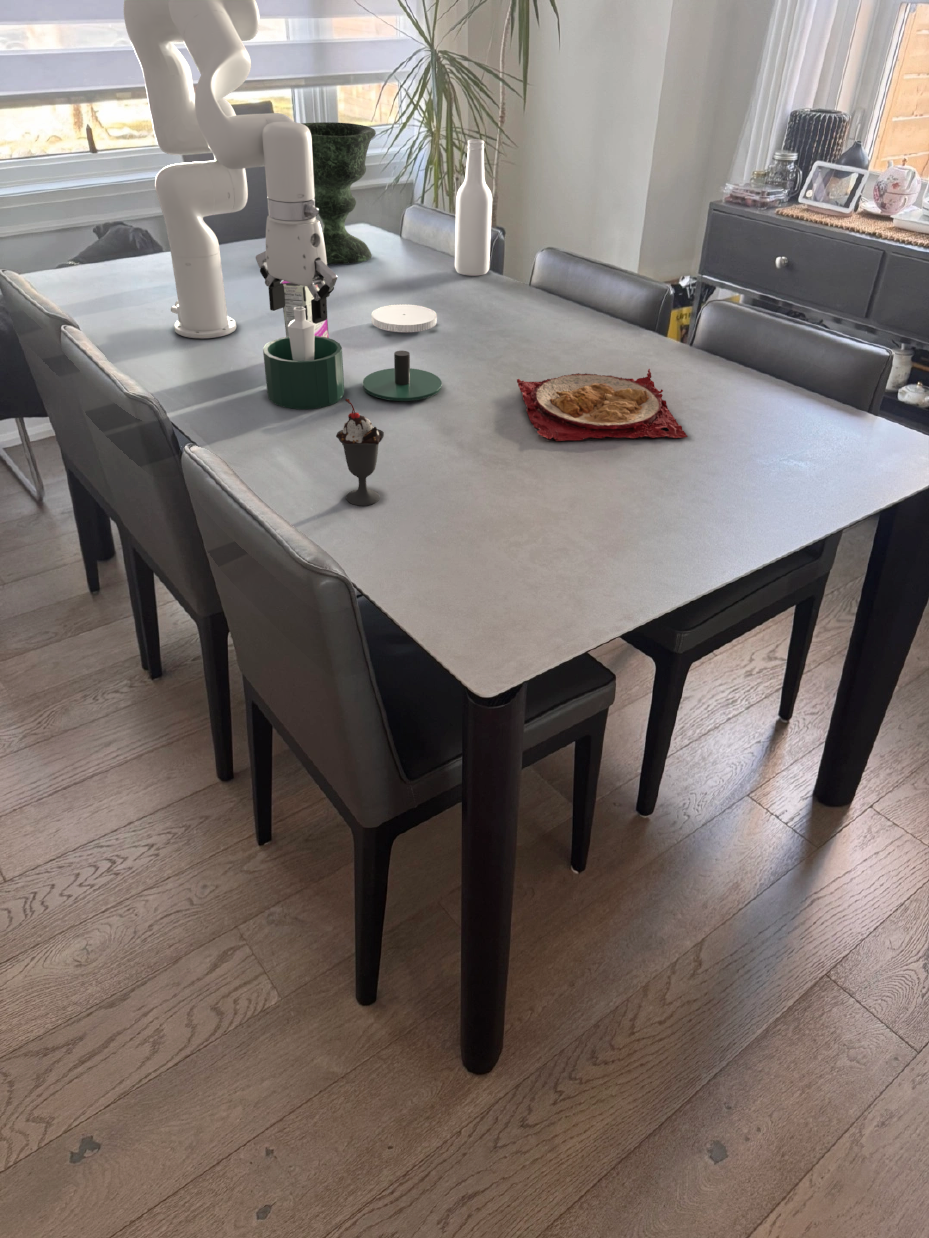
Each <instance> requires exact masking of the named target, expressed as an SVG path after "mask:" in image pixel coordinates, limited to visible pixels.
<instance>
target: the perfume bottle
mask: <svg viewBox="0 0 929 1238" xmlns="http://www.w3.org/2000/svg"><path fill="white" fill-rule="evenodd" d="M293 310H294V316H295V319H294V320H293V321H291V322H290V323H289V325H288V332H289V338H290V345H291V351H292V358H293V360H296V361H307V360H314V324H312V323H311V322H309V321H307V320H306V316H305V310H306V308H304V307H294V309H293Z"/></svg>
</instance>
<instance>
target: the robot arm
mask: <svg viewBox="0 0 929 1238" xmlns="http://www.w3.org/2000/svg"><path fill="white" fill-rule="evenodd" d="M260 19H261V17H260V9H259V6H258V3H257V1H256V0H123V20H124V24H125V29H126V32H127V36H128V39H129V41H130V44H131V46H132V48H133V50H134V53H135V56H136V58H137V60H138V62H139V65H140V68H141V71H142V76H143V80H144V87H145V91H146V92H145V93H146V97H147V103H148V108H149V109H148V110H149V115H150V119H151V125H152V130H153V134H154V135H153V136H154V138H155V141H156V145H157V146H158V148H159V149H160V151H162V152H163V153H165V154H167V155H170V156H189V155H202V154H212V155H213V158H214V159H213V160H205V161H192V162H180V163H174V164H173V163H172V164H170V165H167V166H164V167H163V168H162V169H160V170H159V171H158V173H157V174H156V176H155V179H154V187H155V193H156V197H157V200H158V203H159V207H160V209H161V213H162V216H163V219H164V223H165V228H166V233H167V238H168V244H169V251H170V257H171V264H172V270H173V276H174V283H175V289H176V296H177V301H175V303H174V305H171V307H170V312H171V314H176V315H177V319H178V320H176V322H175V323H174V325H173V327H174V332H175V333H176V334H177V335H180V336H181V337H185V338H190V339H214V338H220V337H224V336H227V335H230V334H232V333H233V332H235V331H236V330H237V322H236V321H237V320H235V319H234V318H232V317H230V316H229V315H228V309H227V299H226V292H225V284H224V275H223V267H222V259H221V252H220V244H219V240H218V237H217V236H216V233H215V231H213V230H212V228H211V227H210V226H209V225H208V224H207V223H206V222H205V221H204V218H206V217H210V216H217V215H223V214H233V213H236V212H240V211H242V210H243V209H244V208H245V207H246V205H247V203H248V198H249V189H248V182H247V181H248V179H247V171H246V169H252V168H262V167H264V172H265V184H266V185H265V186H266V188H265V189H266V196H267V197H266V199H267V200H266V201H267V212H268V215H267V216H266V221H265V222H266V223H265V250H264V251H263V252H260V253H258V254H256V255H255V261H256V263H257V265H258V268H259V272H260V274H261V276H262V277H263V279H264V284H265V286H266V287H268V298H269V310H270V311H278V310H280V309H283V307H285V292H284V284H283V283H281V282H283V281H287V282H291V283H294V284H298V285H302V286H307V287H308V289H309V291H310V292H311V294H312V296H313V297H314V299H313V300H311V309H312V322H313V323H315V324H317V323H320V322H322V321H325V320H327V321H328V301H327V300H328V299H327V298H329V297H330V295H331V294H332V293H333V291H334V290H335V286H336V283H337V280H338V274H336V273H335V271H333V270H332V269H331V267H329V266H328V264H327V260H326V251H325V243H324V238H323V233H322V229H323V227H322V225H321V221H320V219H317V218H316V217H317V216H319V215H318V208H316V207H315V195H314V176H313V156H312V138H311V133H310V130H309V128H308V127H307V126H305V125H303V124H301V122H296V121H294V120H293V119H292V118H291V117H290V116H288V115H286V114H284V113H279V112H272V113H271V112H269V113H268V112H267V113H249V114H247V113H246V114H236V112H235V110H234V107H233V106H232V104H231V103H230V102H229V101H228V100H227V99H225V97H226V96H228V95H230V94H232V93H233V92H234V91H235V90H237V89H238V88H240V87H241V86H242V85H243V84H244V83H245V81H246V80H247V79H248V77H249V75H250V73H251V69H252V60H251V56H250V53H249V52H248V50H247V48H246V46H245V44H244V42H247V41H251V40H252V39H254V38H255V37H256V36H257V34H258V32H259V30H260V24H261V23H260V22H261V20H260ZM174 43H184V46H185V47H186V49H187V51H188V53H189V55H190V57H191V59H192V60H193V61H192V62H193V63H194V64H195V66H196V68H197V71H198V72H199V74H200V76H199V79H198V81H197V84H196V87H195V88H194V82H193V81H194V80H193V75H192V74H193V73H192V70H191V67H190V64H189V63H188V60H186V58H185V56H184V55H183V54H182V53H181V51H180V50H179V49H178V47H176V45H174ZM312 279H313V280H312ZM323 281H325V284H324V282H323ZM315 285H317V286H318V288H319V289H320V290H319V291H318V290H317V288H316V286H315Z"/></svg>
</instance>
